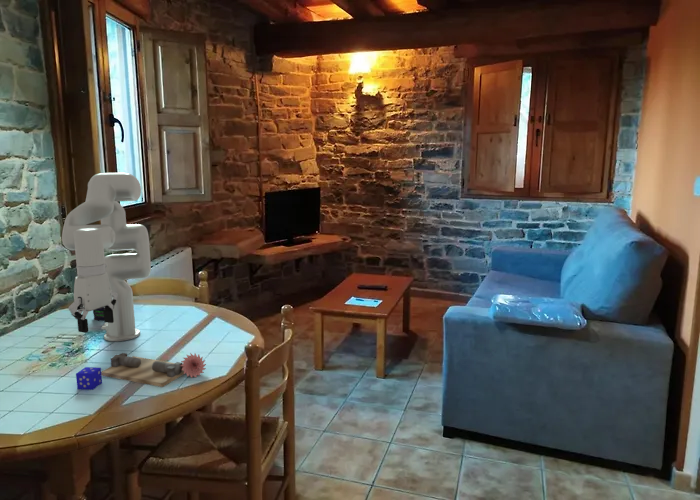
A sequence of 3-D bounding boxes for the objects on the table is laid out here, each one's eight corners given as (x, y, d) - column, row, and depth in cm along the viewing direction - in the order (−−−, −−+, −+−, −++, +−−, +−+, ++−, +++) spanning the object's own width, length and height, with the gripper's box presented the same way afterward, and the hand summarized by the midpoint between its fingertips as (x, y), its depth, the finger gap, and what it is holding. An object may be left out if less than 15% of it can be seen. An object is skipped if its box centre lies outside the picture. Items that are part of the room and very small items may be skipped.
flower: (182, 352, 171) (186, 347, 166) (206, 359, 173) (210, 355, 169) (174, 376, 167) (178, 372, 162) (199, 383, 169) (203, 379, 165)
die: (87, 382, 163) (85, 366, 162) (102, 383, 163) (101, 367, 162) (77, 389, 158) (75, 373, 157) (93, 390, 158) (91, 374, 157)
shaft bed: (99, 375, 168) (98, 362, 167) (132, 359, 181) (131, 347, 180) (163, 387, 159) (162, 374, 158) (193, 369, 172) (192, 357, 171)
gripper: (104, 264, 165) (108, 317, 168) (56, 275, 149) (62, 334, 152) (123, 265, 163) (127, 320, 166) (77, 277, 147) (82, 337, 150)
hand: (96, 327), depth 159 cm, fingers open, 9 cm apart
